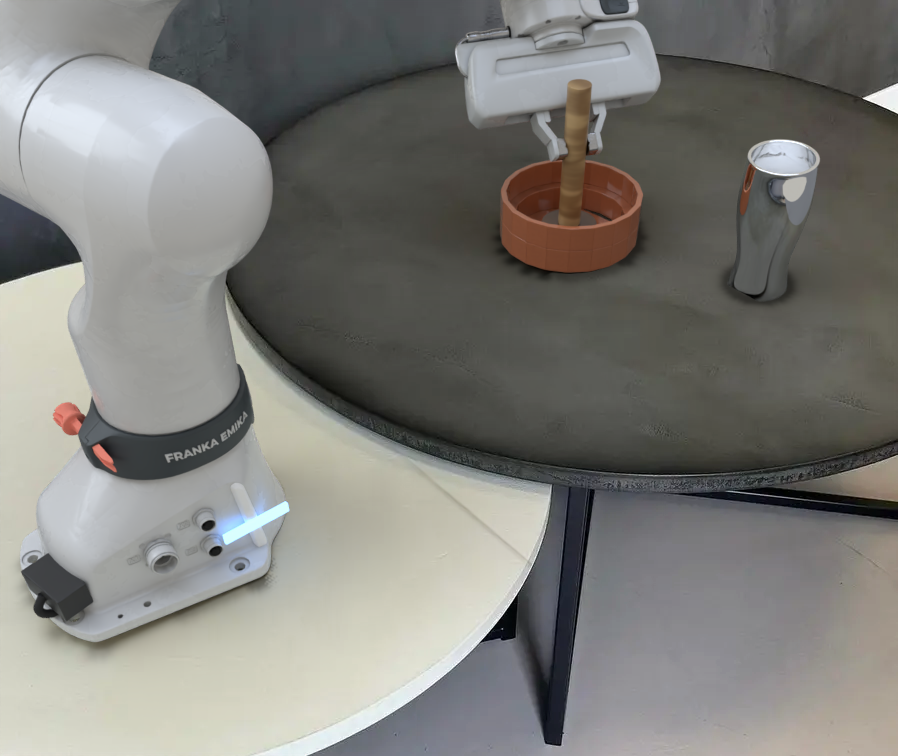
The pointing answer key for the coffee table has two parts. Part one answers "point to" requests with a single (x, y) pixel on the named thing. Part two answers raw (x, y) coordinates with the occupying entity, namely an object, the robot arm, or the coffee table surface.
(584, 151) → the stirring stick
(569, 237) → the bowl
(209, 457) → the robot arm
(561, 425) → the coffee table surface
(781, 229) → the beer glass
